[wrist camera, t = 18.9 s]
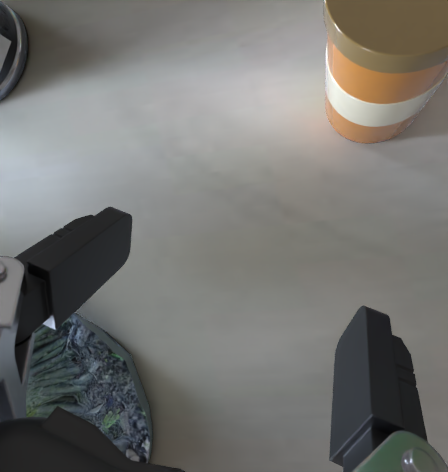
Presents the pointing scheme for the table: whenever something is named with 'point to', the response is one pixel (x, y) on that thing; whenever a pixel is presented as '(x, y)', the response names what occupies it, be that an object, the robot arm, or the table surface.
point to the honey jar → (382, 63)
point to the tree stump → (90, 384)
